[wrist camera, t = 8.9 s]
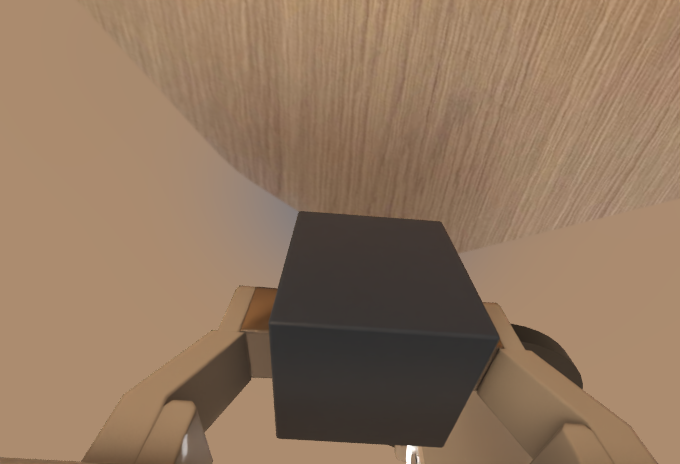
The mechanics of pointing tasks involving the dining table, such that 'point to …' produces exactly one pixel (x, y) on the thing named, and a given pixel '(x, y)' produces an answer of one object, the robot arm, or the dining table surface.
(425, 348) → the block
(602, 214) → the dining table surface
